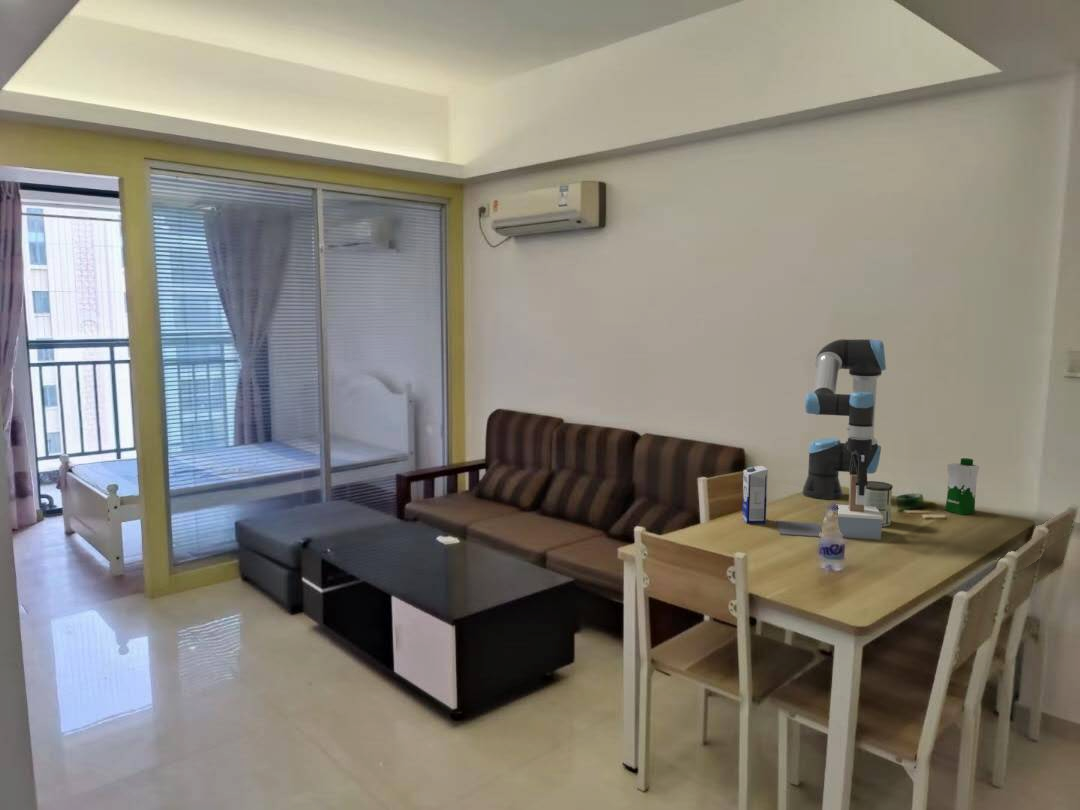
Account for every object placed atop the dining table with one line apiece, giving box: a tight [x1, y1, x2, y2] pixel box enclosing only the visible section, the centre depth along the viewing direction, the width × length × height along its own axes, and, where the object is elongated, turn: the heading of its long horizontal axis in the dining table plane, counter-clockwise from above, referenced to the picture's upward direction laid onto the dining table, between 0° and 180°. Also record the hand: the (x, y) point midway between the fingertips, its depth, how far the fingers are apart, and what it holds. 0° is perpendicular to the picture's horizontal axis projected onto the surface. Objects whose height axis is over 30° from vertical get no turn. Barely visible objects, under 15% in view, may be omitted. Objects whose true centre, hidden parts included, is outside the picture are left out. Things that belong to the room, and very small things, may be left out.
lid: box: [837, 473, 883, 519], centre depth 249 cm, size 13×15×15 cm
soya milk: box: [944, 457, 980, 516], centre depth 275 cm, size 9×9×20 cm
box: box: [837, 517, 882, 540], centre depth 250 cm, size 12×14×7 cm
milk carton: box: [741, 465, 769, 525], centre depth 264 cm, size 7×7×20 cm
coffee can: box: [864, 480, 894, 528], centre depth 262 cm, size 10×10×14 cm
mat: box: [776, 520, 821, 538], centre depth 254 cm, size 16×14×1 cm
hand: (856, 499), depth 249 cm, fingers open, 13 cm apart
